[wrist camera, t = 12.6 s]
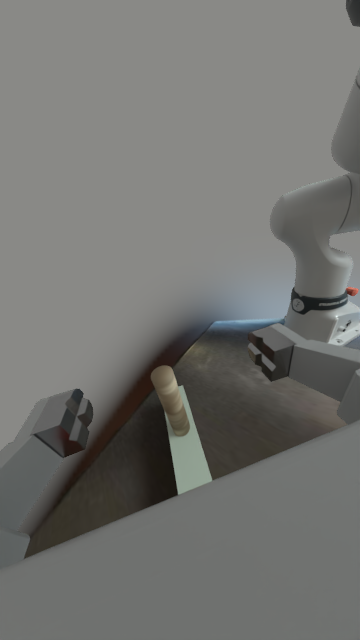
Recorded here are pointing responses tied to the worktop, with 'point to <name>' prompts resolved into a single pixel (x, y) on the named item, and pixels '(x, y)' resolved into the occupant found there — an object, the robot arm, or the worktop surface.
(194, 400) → the worktop surface
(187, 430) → the dowel
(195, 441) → the pale mint rectangular block
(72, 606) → the robot arm
